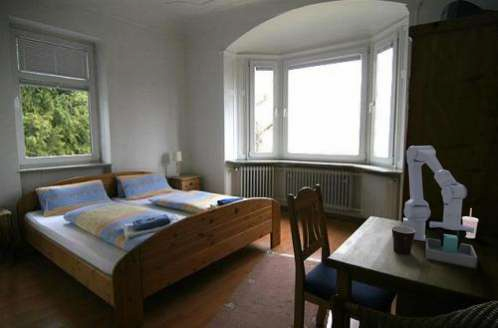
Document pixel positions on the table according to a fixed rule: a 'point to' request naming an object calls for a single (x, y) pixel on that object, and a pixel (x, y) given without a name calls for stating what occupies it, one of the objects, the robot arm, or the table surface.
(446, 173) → the robot arm
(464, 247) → the gray tray
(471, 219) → the beverage cup
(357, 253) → the table surface
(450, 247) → the teal block
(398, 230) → the coffee mug
